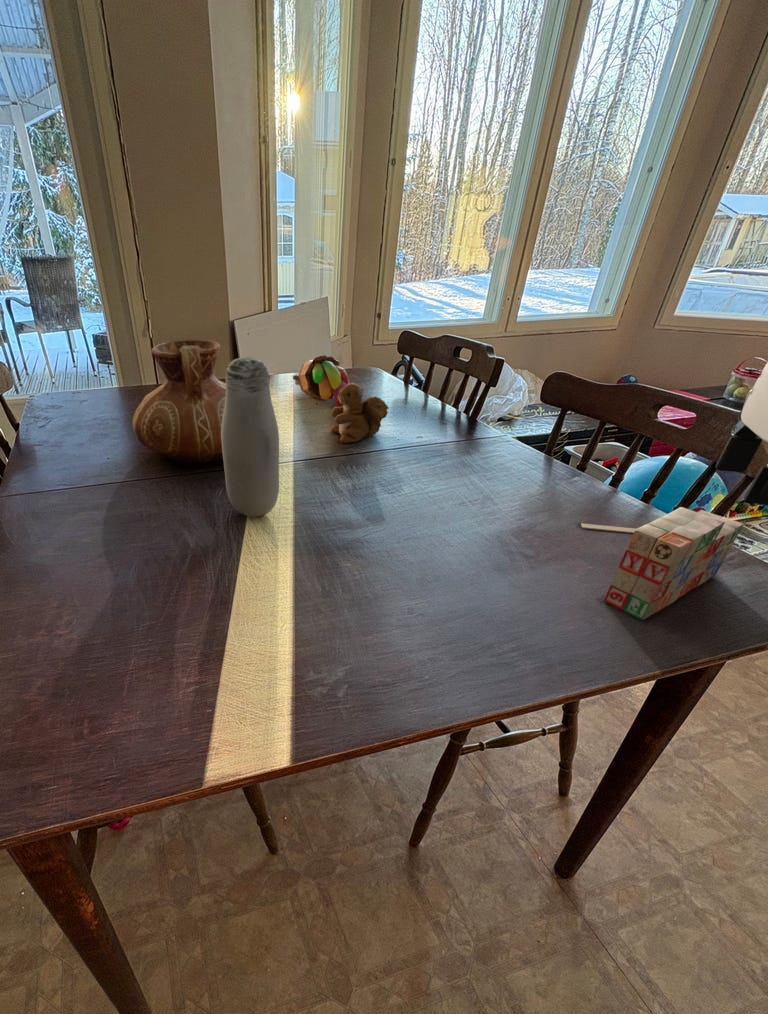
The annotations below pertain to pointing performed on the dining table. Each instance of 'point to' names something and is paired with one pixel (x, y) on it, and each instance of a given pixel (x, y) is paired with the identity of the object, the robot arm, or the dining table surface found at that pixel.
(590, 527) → the strip
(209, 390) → the jug
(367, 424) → the stuffed squirrel
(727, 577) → the dining table surface
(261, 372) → the grey bottle
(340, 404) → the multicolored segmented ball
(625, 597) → the stack of blocks
